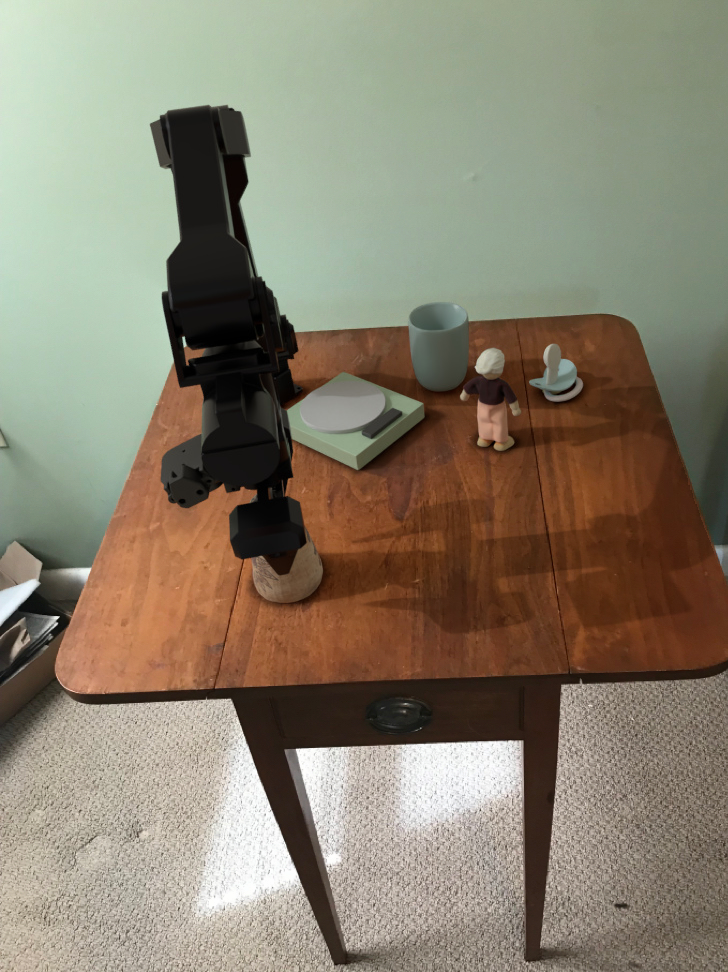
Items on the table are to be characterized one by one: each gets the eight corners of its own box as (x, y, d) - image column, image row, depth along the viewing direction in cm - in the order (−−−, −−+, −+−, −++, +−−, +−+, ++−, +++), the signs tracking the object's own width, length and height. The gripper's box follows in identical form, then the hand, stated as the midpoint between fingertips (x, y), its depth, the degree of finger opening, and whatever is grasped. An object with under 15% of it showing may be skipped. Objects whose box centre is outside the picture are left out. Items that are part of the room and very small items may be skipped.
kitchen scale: (278, 432, 99) (273, 414, 98) (345, 385, 106) (342, 367, 104) (358, 470, 93) (355, 452, 91) (424, 417, 99) (423, 399, 97)
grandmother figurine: (525, 436, 95) (528, 344, 86) (518, 455, 92) (520, 362, 83) (465, 428, 97) (462, 338, 88) (456, 446, 94) (452, 355, 86)
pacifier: (592, 385, 102) (553, 370, 105) (598, 343, 97) (557, 329, 100) (561, 411, 98) (522, 395, 101) (566, 369, 94) (525, 353, 97)
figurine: (290, 545, 84) (268, 459, 76) (337, 573, 81) (320, 486, 72) (242, 585, 80) (213, 499, 72) (289, 615, 77) (264, 529, 68)
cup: (471, 397, 102) (469, 329, 95) (412, 401, 102) (406, 333, 95) (468, 366, 107) (467, 299, 100) (413, 369, 108) (408, 303, 101)
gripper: (155, 370, 72) (199, 496, 83) (145, 498, 59) (199, 627, 69) (273, 351, 73) (302, 477, 84) (290, 472, 59) (320, 604, 70)
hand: (280, 541), depth 77 cm, fingers open, 9 cm apart
